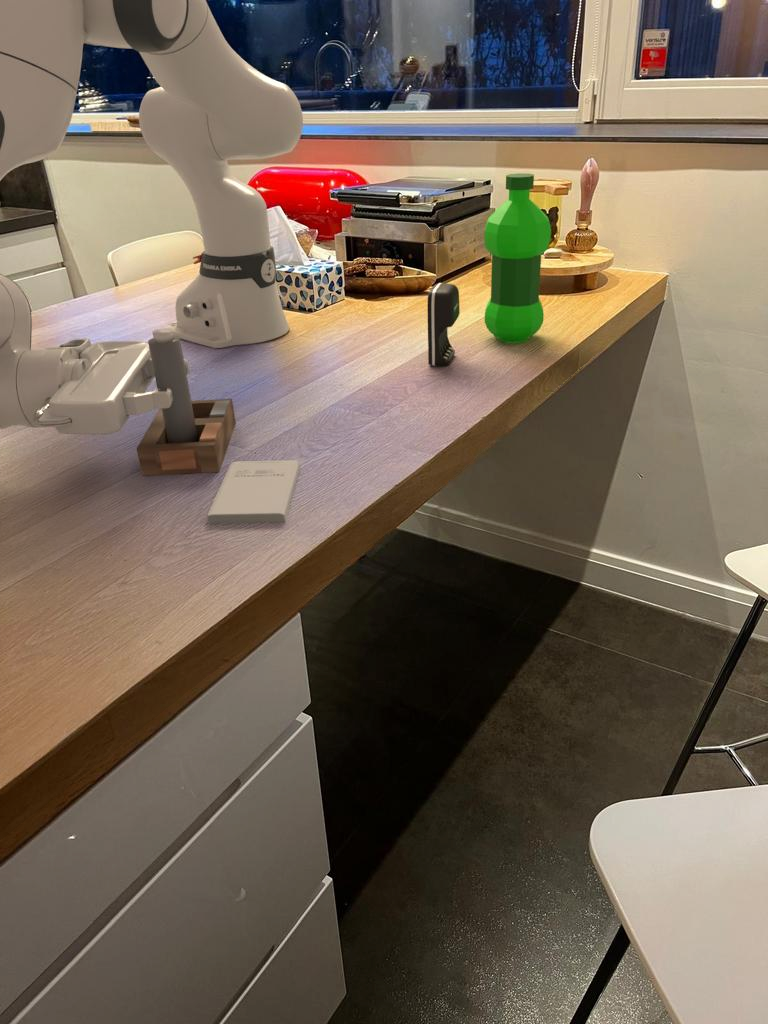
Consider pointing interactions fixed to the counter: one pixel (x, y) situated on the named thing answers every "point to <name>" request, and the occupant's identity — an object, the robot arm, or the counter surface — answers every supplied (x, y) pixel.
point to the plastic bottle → (516, 262)
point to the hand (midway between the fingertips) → (179, 382)
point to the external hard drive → (255, 492)
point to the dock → (189, 457)
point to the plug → (173, 385)
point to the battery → (441, 322)
